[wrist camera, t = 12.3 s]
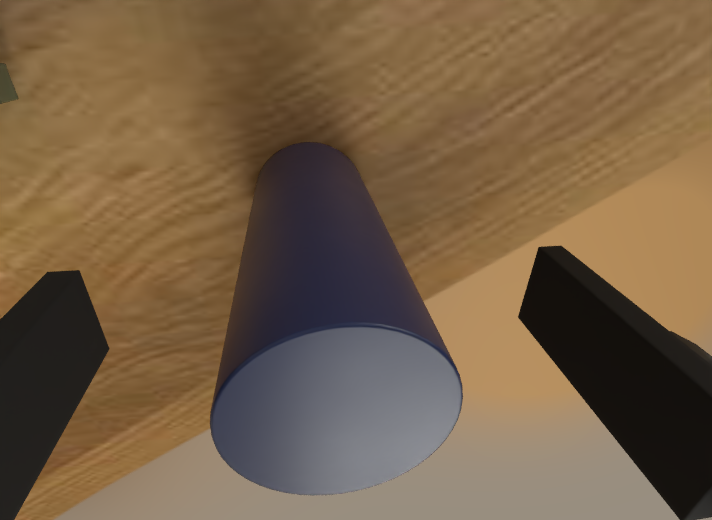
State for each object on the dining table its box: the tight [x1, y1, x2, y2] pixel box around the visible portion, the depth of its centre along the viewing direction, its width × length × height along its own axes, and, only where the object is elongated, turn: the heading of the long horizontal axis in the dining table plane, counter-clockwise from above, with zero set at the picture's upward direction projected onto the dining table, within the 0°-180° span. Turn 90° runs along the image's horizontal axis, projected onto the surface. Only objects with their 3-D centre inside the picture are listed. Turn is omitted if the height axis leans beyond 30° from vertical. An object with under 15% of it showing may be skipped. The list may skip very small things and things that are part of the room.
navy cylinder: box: [210, 142, 463, 495], centre depth 14 cm, size 5×5×13 cm
